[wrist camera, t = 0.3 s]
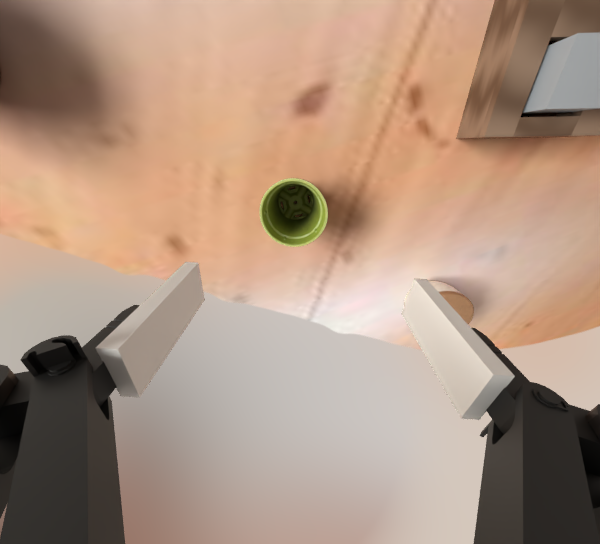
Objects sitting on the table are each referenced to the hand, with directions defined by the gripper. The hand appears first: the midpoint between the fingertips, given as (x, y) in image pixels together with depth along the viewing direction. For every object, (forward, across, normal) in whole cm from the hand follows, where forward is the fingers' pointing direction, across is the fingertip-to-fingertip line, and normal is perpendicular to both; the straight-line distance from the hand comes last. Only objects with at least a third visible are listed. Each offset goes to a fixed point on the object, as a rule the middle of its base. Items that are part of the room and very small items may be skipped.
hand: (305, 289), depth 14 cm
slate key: (+23, +28, +16) cm, 40 cm away
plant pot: (+28, -2, -1) cm, 28 cm away
